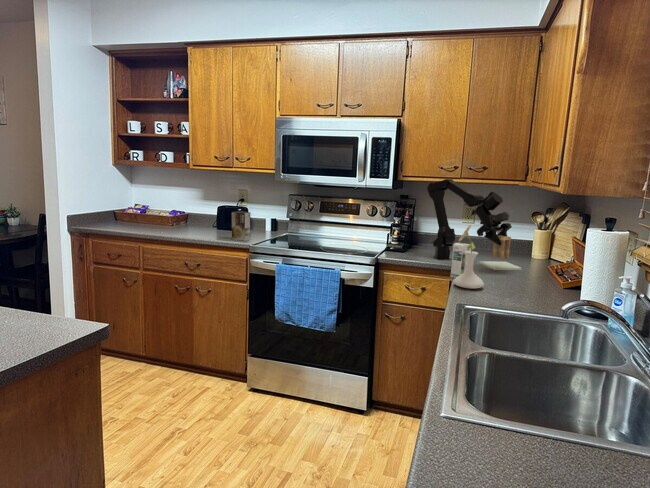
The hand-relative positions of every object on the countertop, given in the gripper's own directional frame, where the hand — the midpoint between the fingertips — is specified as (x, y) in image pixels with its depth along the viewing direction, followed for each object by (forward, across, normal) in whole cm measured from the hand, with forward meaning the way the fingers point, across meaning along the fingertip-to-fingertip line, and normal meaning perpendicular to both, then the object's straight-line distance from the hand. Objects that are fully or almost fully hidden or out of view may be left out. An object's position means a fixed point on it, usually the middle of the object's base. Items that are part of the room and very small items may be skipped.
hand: (504, 244), depth 204 cm
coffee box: (-78, -70, +97) cm, 143 cm away
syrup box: (+7, -25, +12) cm, 28 cm away
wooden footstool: (+4, 0, +6) cm, 7 cm away
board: (+3, +12, +16) cm, 20 cm away
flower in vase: (+16, -36, +3) cm, 39 cm away
